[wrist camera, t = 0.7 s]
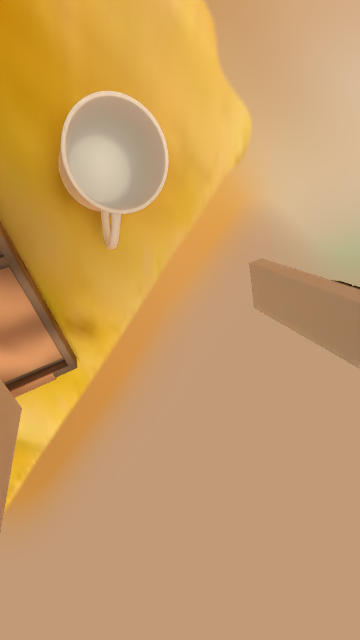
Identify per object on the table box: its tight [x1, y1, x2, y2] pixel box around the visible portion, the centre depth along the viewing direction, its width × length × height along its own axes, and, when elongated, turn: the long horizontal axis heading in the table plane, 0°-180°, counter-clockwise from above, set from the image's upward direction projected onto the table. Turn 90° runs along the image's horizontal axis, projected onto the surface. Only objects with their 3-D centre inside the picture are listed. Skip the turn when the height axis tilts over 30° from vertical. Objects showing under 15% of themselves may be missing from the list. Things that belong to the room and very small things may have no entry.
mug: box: [58, 91, 168, 249], centre depth 26 cm, size 12×8×12 cm
